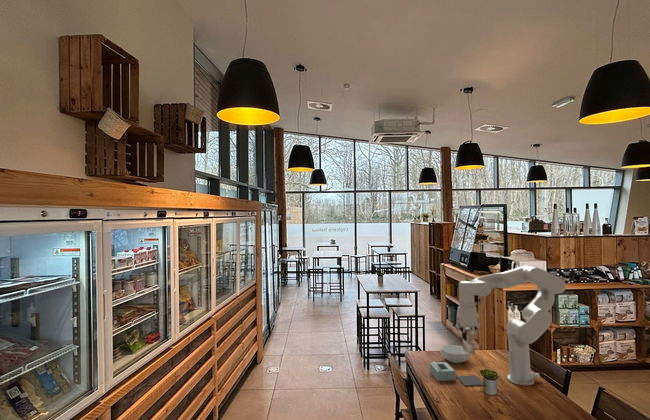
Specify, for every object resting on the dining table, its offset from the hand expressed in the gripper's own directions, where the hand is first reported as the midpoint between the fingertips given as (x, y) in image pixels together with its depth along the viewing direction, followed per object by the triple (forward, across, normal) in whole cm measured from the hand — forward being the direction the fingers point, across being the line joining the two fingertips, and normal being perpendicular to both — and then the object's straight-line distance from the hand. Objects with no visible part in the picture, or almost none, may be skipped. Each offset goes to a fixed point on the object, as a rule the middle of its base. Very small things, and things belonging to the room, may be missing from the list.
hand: (468, 339), depth 187 cm
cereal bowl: (+22, -4, -28) cm, 36 cm away
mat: (+22, 0, 0) cm, 22 cm away
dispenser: (+22, +12, -8) cm, 26 cm away
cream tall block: (+7, 0, 0) cm, 7 cm away
